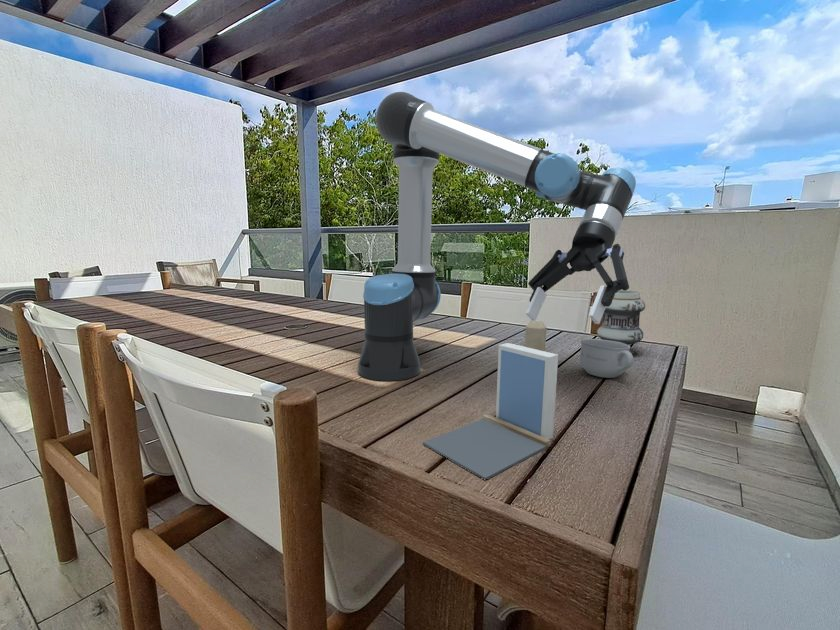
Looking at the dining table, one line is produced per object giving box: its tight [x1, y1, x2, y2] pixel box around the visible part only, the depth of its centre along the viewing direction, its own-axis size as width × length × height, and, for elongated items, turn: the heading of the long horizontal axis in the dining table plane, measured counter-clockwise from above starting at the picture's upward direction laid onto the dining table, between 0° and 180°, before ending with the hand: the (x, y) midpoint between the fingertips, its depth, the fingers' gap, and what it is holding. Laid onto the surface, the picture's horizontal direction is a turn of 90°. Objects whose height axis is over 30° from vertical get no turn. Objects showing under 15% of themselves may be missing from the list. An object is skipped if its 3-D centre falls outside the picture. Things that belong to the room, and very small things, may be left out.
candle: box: [524, 320, 548, 352], centre depth 116 cm, size 6×6×10 cm
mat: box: [422, 418, 548, 481], centre depth 65 cm, size 15×13×1 cm
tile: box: [495, 342, 559, 440], centre depth 70 cm, size 3×10×14 cm, turn 40°
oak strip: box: [482, 413, 552, 449], centre depth 70 cm, size 1×13×1 cm, turn 40°
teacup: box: [579, 338, 634, 379], centre depth 99 cm, size 14×11×8 cm
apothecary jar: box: [596, 289, 646, 357], centre depth 120 cm, size 12×12×18 cm
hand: (559, 318), depth 79 cm, fingers open, 13 cm apart
